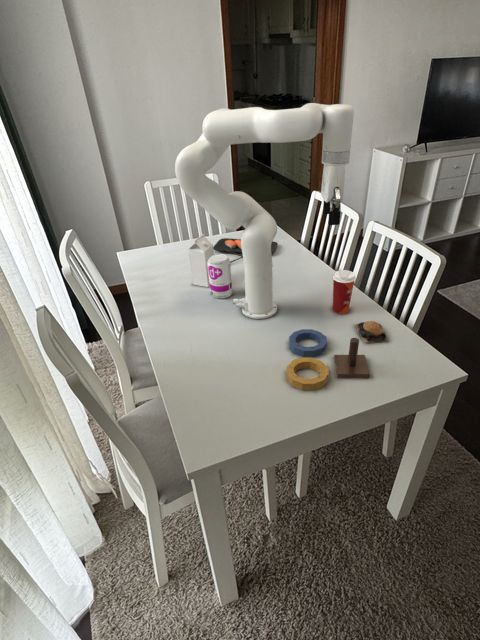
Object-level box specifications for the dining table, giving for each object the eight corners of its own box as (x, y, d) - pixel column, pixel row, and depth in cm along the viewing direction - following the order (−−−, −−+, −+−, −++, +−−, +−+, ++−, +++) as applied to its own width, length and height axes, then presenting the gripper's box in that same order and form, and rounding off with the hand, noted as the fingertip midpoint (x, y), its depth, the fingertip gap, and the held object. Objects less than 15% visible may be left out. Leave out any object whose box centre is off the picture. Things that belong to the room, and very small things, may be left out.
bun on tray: (353, 326, 137) (354, 316, 135) (377, 324, 138) (379, 314, 136) (363, 344, 129) (365, 334, 127) (389, 341, 129) (391, 332, 127)
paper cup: (351, 316, 142) (355, 280, 134) (329, 314, 143) (332, 278, 135) (351, 305, 148) (356, 269, 140) (330, 303, 149) (333, 268, 141)
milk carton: (192, 284, 164) (186, 239, 153) (201, 277, 169) (195, 232, 158) (208, 287, 162) (203, 241, 150) (216, 279, 167) (212, 234, 156)
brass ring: (287, 390, 112) (287, 383, 111) (286, 364, 121) (286, 357, 120) (329, 390, 112) (330, 383, 110) (325, 364, 121) (326, 357, 119)
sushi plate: (279, 245, 195) (279, 237, 192) (265, 272, 171) (265, 264, 169) (221, 241, 200) (220, 233, 198) (199, 267, 177) (198, 259, 175)
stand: (337, 378, 116) (340, 349, 110) (333, 358, 123) (336, 331, 117) (369, 378, 115) (374, 349, 110) (363, 358, 123) (368, 331, 117)
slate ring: (289, 357, 124) (289, 350, 123) (288, 335, 133) (288, 329, 132) (327, 357, 124) (328, 350, 122) (324, 335, 133) (325, 329, 131)
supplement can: (224, 301, 152) (220, 264, 144) (206, 296, 156) (202, 259, 147) (236, 292, 158) (234, 255, 149) (219, 287, 162) (216, 251, 153)
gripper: (317, 151, 119) (314, 210, 129) (327, 164, 105) (322, 229, 115) (343, 150, 119) (338, 209, 129) (356, 163, 105) (349, 228, 115)
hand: (330, 219), depth 122 cm, fingers open, 9 cm apart
